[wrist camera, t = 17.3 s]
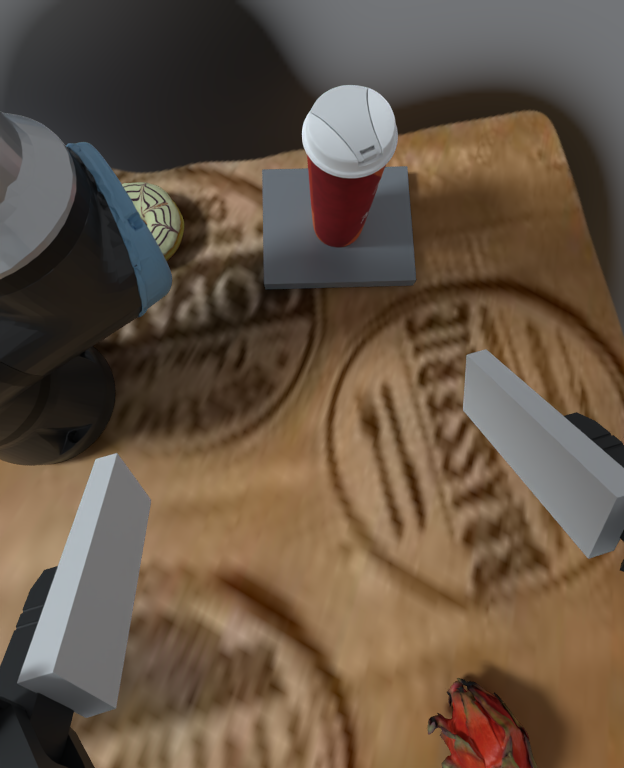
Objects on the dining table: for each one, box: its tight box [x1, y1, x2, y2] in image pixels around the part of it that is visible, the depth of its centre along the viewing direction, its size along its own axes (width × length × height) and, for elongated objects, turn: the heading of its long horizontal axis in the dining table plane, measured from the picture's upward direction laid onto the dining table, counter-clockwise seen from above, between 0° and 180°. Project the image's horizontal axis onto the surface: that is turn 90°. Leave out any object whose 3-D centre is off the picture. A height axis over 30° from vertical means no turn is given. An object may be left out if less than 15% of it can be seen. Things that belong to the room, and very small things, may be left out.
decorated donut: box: [122, 182, 184, 261], centre depth 46 cm, size 10×11×4 cm
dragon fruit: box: [428, 678, 538, 768], centre depth 36 cm, size 8×8×12 cm
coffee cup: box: [302, 85, 398, 247], centre depth 39 cm, size 8×8×15 cm
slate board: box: [262, 166, 416, 289], centre depth 47 cm, size 18×15×2 cm
